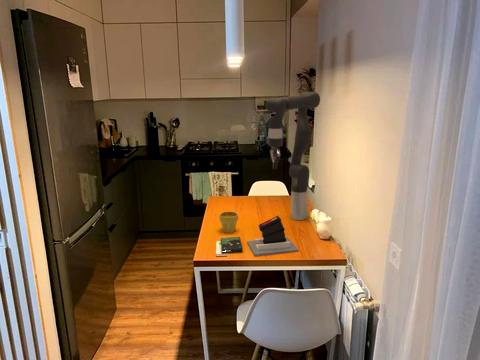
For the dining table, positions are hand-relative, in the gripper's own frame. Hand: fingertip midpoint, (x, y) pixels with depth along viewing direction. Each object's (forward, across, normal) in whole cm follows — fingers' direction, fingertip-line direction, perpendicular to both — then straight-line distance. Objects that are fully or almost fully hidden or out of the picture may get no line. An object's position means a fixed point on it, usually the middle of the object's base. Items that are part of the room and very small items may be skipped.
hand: (275, 168), depth 200 cm
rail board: (+35, -22, +8) cm, 42 cm away
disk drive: (+36, -17, +28) cm, 48 cm away
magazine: (+34, -22, +8) cm, 41 cm away
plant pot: (+35, +5, +25) cm, 43 cm away
